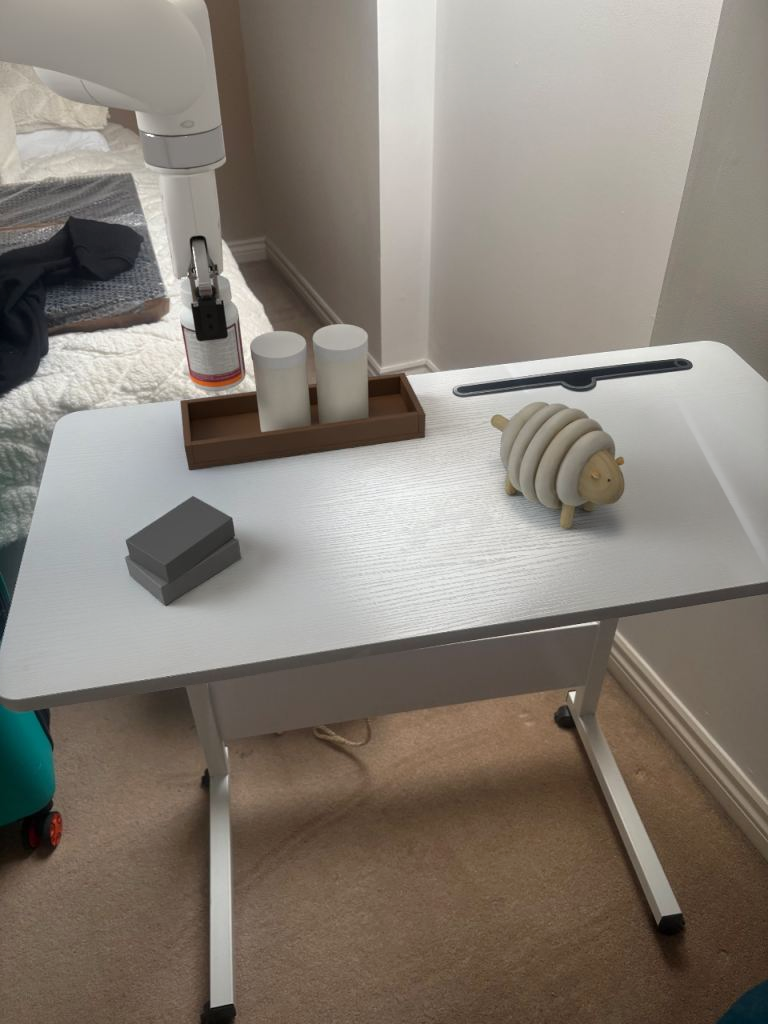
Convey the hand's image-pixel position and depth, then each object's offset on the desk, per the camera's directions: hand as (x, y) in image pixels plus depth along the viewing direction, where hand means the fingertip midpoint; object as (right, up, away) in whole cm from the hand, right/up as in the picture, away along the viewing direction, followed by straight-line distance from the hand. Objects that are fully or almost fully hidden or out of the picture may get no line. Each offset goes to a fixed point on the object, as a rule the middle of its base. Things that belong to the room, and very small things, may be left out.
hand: (209, 322), depth 88 cm
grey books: (-1, -26, -7) cm, 27 cm away
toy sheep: (+36, -19, +1) cm, 41 cm away
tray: (+9, -10, +11) cm, 18 cm away
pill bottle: (0, -6, +5) cm, 7 cm away
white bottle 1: (+7, -10, +10) cm, 16 cm away
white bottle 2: (+14, -9, +12) cm, 20 cm away
